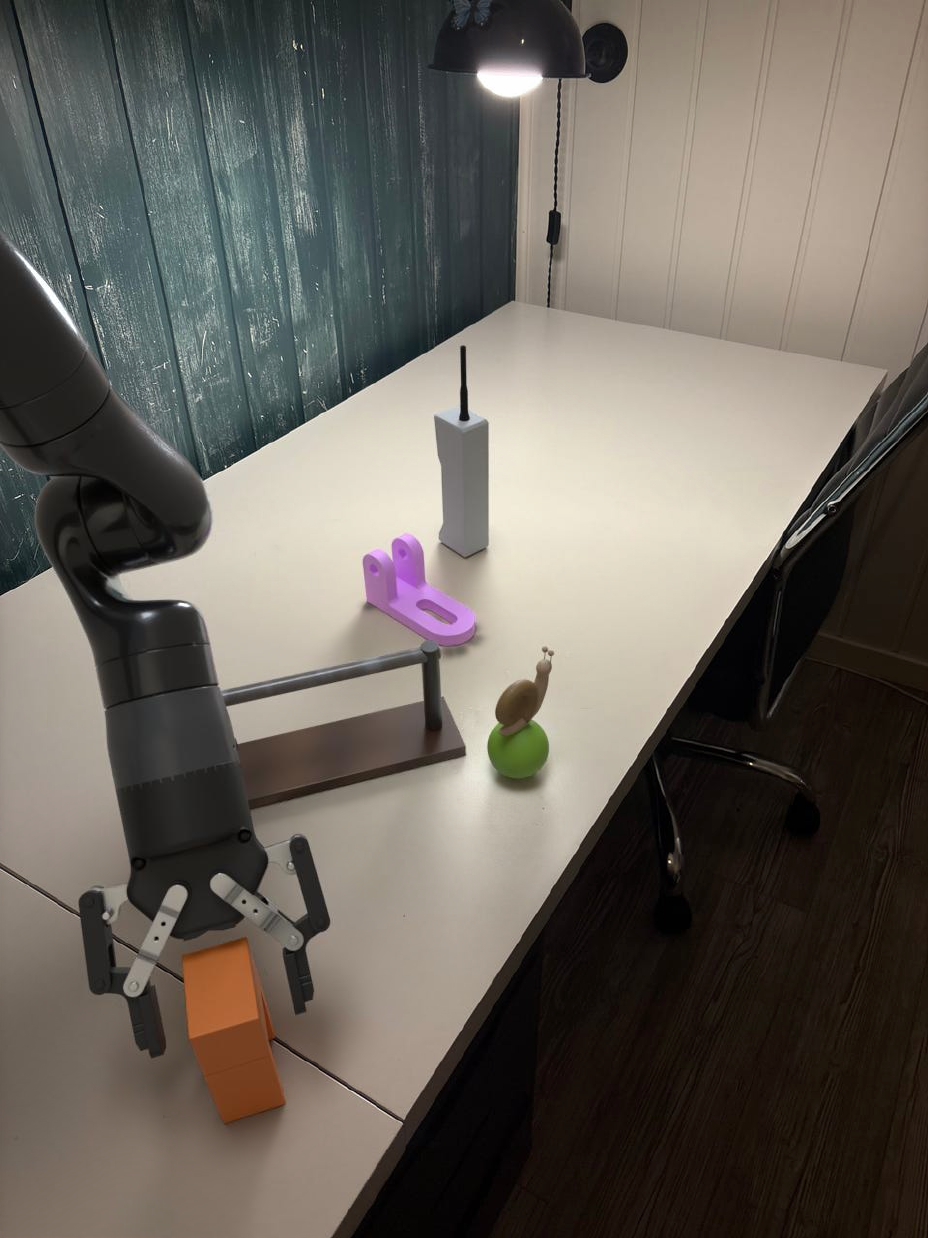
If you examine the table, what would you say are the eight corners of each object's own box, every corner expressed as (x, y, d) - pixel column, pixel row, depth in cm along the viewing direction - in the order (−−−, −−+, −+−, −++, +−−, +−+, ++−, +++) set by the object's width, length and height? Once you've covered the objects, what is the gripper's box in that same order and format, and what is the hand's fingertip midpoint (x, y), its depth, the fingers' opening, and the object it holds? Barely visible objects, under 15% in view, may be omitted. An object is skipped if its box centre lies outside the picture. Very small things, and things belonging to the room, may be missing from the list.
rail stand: (198, 822, 78) (170, 732, 71) (191, 764, 83) (165, 675, 77) (466, 755, 84) (464, 666, 77) (444, 704, 89) (440, 617, 82)
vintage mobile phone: (462, 530, 113) (457, 332, 97) (488, 547, 110) (488, 345, 94) (438, 541, 111) (430, 341, 96) (465, 559, 108) (461, 355, 92)
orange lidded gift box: (223, 1124, 59) (188, 1039, 52) (214, 1043, 63) (181, 954, 56) (285, 1104, 60) (259, 1018, 53) (273, 1025, 64) (246, 936, 57)
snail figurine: (567, 762, 83) (575, 662, 75) (519, 801, 79) (521, 700, 72) (523, 731, 86) (526, 632, 78) (474, 768, 82) (473, 668, 75)
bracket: (366, 601, 102) (361, 549, 98) (403, 579, 105) (399, 528, 101) (449, 653, 95) (447, 599, 90) (486, 628, 98) (485, 575, 94)
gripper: (42, 801, 52) (98, 1092, 50) (292, 742, 55) (351, 1013, 54) (70, 794, 59) (120, 1048, 58) (290, 742, 62) (342, 981, 61)
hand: (231, 1031), depth 56 cm, fingers open, 8 cm apart
